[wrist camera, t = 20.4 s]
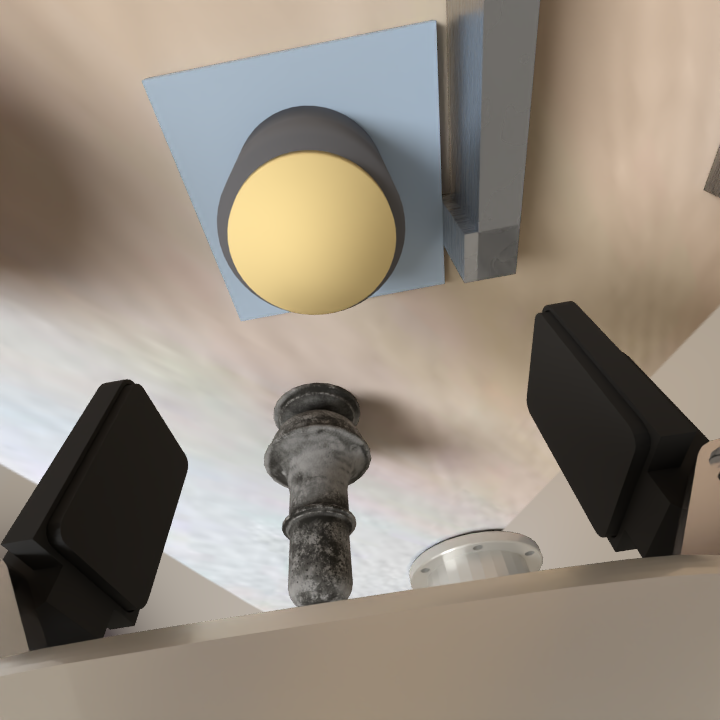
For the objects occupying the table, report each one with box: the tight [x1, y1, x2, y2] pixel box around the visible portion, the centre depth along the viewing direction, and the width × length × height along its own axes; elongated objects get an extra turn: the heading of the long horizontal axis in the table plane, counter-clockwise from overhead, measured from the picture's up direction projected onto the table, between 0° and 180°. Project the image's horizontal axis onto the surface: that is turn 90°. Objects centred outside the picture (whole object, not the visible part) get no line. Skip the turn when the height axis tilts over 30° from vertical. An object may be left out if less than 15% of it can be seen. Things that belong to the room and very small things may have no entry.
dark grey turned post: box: [264, 383, 371, 607], centre depth 22 cm, size 6×6×12 cm
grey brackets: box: [442, 0, 720, 283], centre depth 14 cm, size 12×14×4 cm
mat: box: [142, 20, 445, 321], centre depth 18 cm, size 10×10×1 cm
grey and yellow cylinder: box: [217, 106, 405, 315], centre depth 15 cm, size 6×6×5 cm
